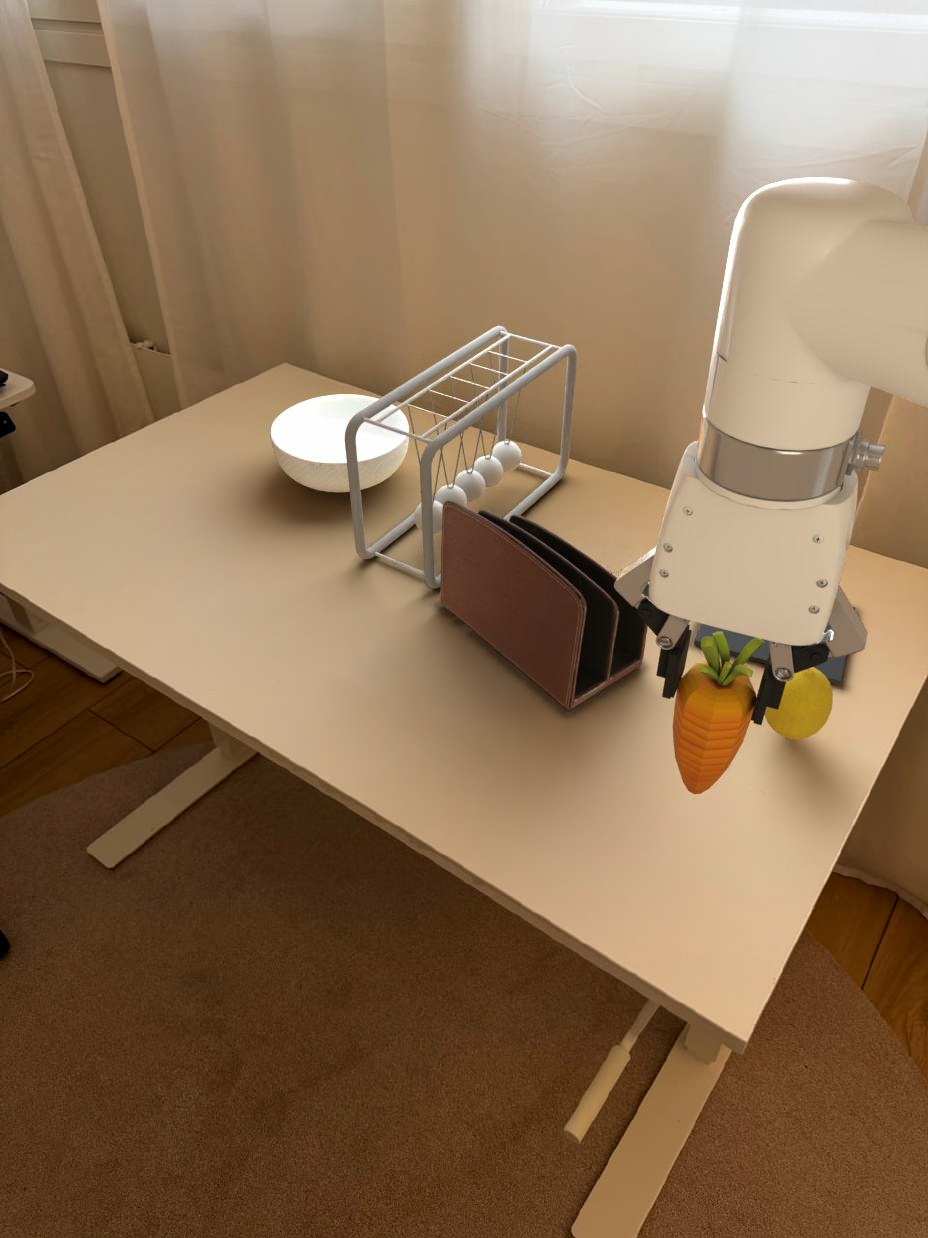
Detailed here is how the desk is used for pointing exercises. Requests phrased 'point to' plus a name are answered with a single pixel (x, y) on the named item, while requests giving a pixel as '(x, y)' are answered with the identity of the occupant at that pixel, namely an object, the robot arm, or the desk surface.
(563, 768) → the desk surface
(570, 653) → the letter holder
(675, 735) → the carrot
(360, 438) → the cereal bowl
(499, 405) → the newton's cradle
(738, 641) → the mat
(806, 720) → the lemon
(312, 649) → the desk surface
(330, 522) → the desk surface
